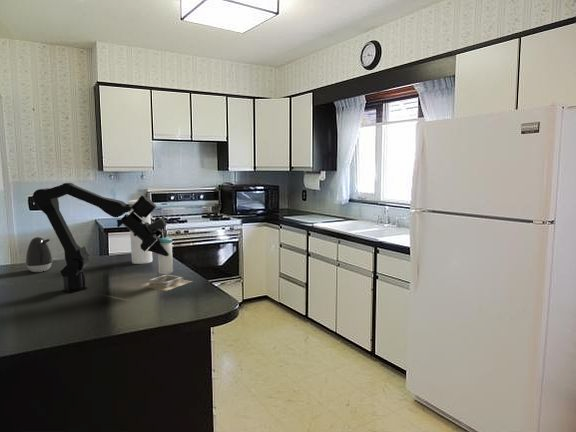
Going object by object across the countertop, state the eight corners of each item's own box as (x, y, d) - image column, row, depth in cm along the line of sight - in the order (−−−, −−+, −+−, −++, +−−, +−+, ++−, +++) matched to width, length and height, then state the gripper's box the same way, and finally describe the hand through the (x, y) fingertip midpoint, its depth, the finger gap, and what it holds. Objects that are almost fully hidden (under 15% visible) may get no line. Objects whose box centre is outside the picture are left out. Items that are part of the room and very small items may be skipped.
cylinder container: (155, 259, 203) (152, 198, 200) (147, 263, 194) (144, 200, 190) (137, 259, 204) (134, 198, 200) (128, 263, 195) (124, 200, 191)
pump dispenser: (44, 273, 177) (42, 239, 175) (21, 273, 177) (18, 239, 176) (58, 268, 187) (55, 235, 186) (35, 268, 188) (33, 235, 186)
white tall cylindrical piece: (165, 274, 155) (164, 240, 154) (155, 272, 158) (153, 239, 156) (176, 271, 160) (175, 238, 158) (166, 269, 163) (164, 237, 161)
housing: (166, 292, 150) (165, 285, 150) (139, 286, 157) (139, 280, 157) (192, 282, 162) (192, 276, 162) (167, 278, 169) (166, 272, 169)
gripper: (148, 213, 146) (181, 243, 149) (156, 208, 165) (185, 234, 168) (126, 236, 146) (160, 265, 149) (136, 228, 164) (166, 254, 167)
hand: (169, 254), depth 158 cm, fingers closed on white tall cylindrical piece, 5 cm apart
